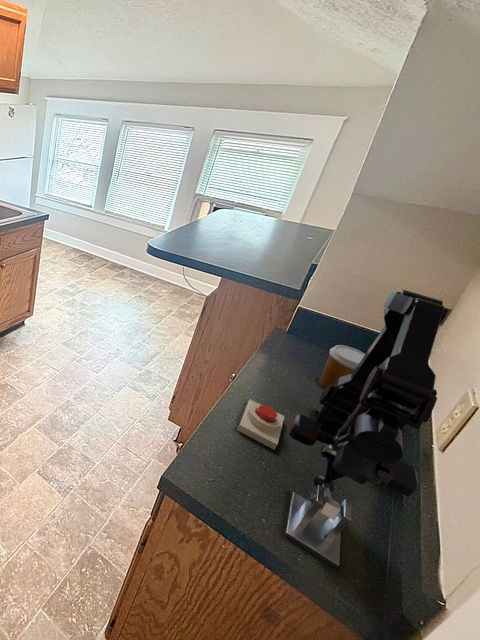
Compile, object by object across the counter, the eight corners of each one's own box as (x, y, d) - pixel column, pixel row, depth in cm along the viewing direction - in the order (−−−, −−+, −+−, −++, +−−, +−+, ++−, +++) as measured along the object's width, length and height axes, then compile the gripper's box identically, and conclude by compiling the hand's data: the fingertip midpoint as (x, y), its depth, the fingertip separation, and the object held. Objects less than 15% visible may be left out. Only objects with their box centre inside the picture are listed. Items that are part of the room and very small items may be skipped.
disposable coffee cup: (312, 371, 117) (332, 339, 112) (351, 386, 112) (373, 354, 107) (311, 386, 111) (331, 354, 105) (352, 404, 105) (376, 371, 100)
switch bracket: (290, 495, 79) (310, 468, 75) (338, 522, 75) (362, 495, 71) (283, 535, 72) (305, 508, 67) (336, 569, 67) (362, 541, 63)
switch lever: (310, 481, 80) (317, 469, 80) (328, 491, 79) (336, 479, 78) (315, 512, 70) (323, 498, 69) (336, 524, 68) (345, 510, 68)
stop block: (246, 405, 102) (252, 394, 100) (280, 422, 97) (287, 410, 95) (236, 431, 93) (242, 419, 91) (273, 451, 89) (281, 439, 87)
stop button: (257, 407, 96) (260, 402, 95) (275, 416, 94) (278, 411, 93) (254, 416, 93) (257, 411, 92) (273, 425, 91) (276, 420, 90)
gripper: (304, 421, 69) (269, 475, 77) (447, 489, 59) (390, 544, 67) (310, 390, 77) (277, 442, 84) (436, 446, 67) (386, 499, 74)
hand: (327, 478), depth 77 cm, fingers closed, pressing on switch lever
